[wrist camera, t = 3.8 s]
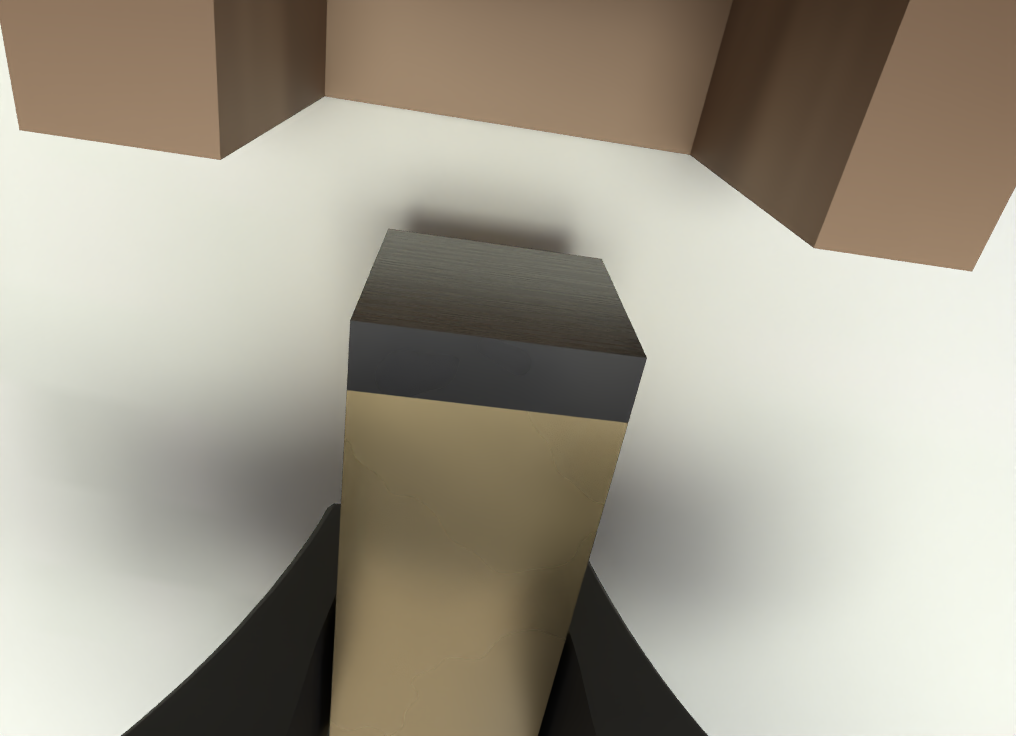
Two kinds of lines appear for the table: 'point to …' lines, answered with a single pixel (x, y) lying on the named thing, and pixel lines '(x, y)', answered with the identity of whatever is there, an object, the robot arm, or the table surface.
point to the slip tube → (472, 480)
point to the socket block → (582, 90)
